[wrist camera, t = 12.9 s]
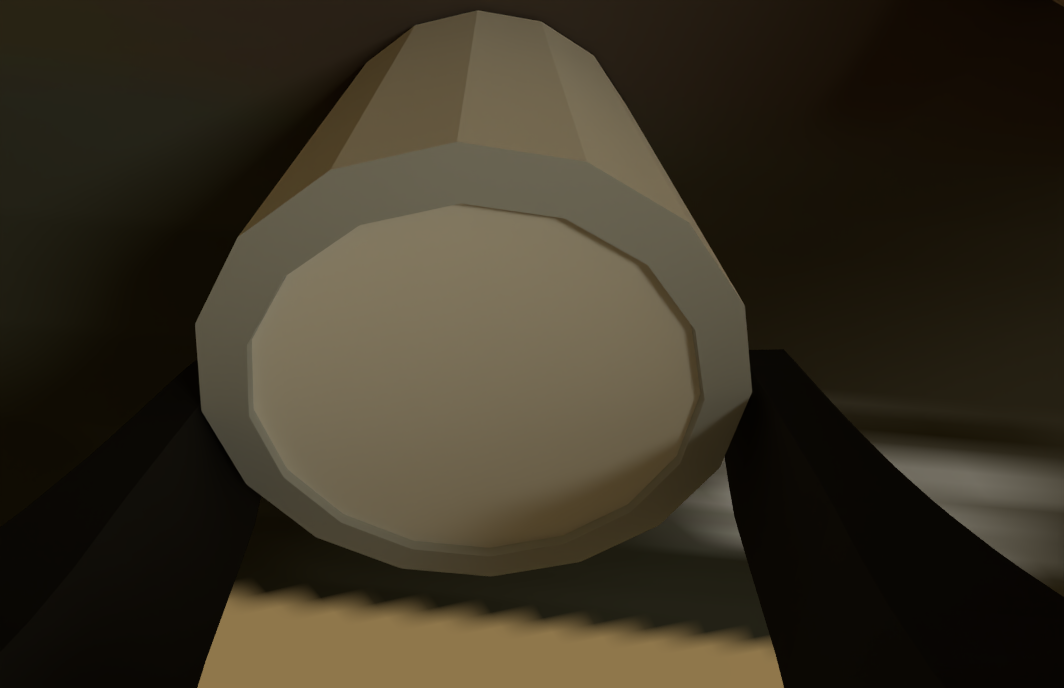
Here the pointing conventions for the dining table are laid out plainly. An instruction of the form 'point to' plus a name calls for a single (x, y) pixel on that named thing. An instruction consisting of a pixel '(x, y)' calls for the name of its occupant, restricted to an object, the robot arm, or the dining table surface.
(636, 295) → the shot glass
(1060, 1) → the frame
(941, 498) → the dining table surface
